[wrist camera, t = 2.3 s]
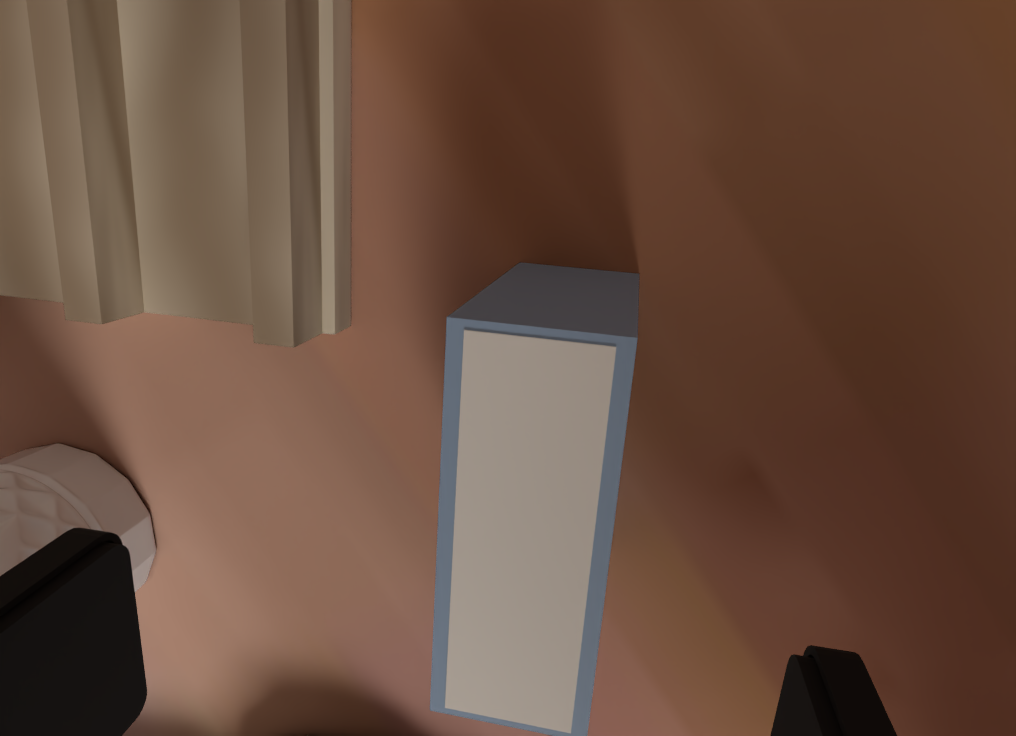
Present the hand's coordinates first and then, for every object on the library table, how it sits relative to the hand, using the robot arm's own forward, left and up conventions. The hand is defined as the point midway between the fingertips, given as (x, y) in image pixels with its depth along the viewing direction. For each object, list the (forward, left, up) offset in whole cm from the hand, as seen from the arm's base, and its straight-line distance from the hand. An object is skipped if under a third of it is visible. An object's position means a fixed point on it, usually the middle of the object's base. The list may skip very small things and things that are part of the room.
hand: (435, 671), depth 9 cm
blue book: (-1, +1, -12) cm, 12 cm away
